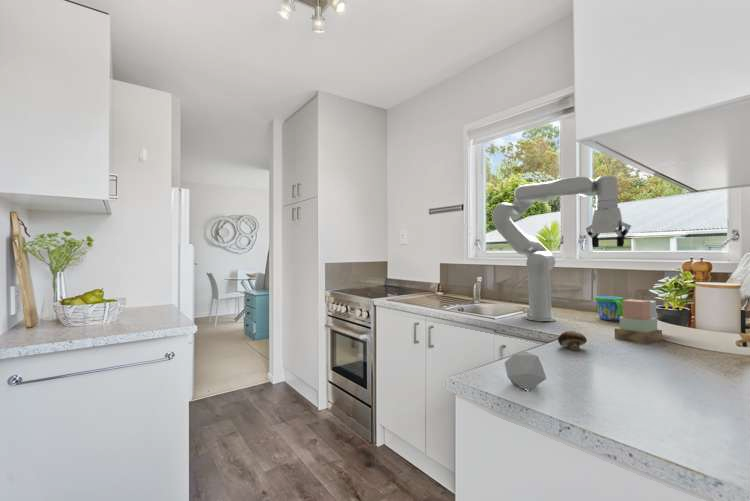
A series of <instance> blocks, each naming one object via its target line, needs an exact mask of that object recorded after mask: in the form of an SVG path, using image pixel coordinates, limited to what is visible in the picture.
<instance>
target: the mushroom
mask: <svg viewBox="0 0 750 501" xmlns="http://www.w3.org/2000/svg"><path fill="white" fill-rule="evenodd" d="M587 340H588V339H587V337H586V336H585V335H584V334H583V333H580V332H577V331H574V330H569V331H568V330H567V331H564V332H562V333H561V334H560V335H559V336H558V338H557V341H558V343H559V345H560V346H561V347H564V348H569V349H570V350H573V351H580V350H581V348H580V346H583V345H585V344H586V343H587Z"/></svg>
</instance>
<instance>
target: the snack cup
mask: <svg viewBox="0 0 750 501" xmlns="http://www.w3.org/2000/svg"><path fill="white" fill-rule="evenodd" d="M594 299H595V301H596V306H595V307H596V309H597V310H598V316H599V319H600V320H604V321H610V322H611V321H612V322H615V321H620V319H619V318H620V317H621V316H623V300H625V299H624V298H623V297H620V296H611V295H610V296H609V295H608V296H607V295H598V296H597V295H596V296H595V297H594Z"/></svg>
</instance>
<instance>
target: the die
mask: <svg viewBox="0 0 750 501" xmlns="http://www.w3.org/2000/svg"><path fill="white" fill-rule="evenodd" d="M504 366H505V370H506V371H505V372H506V375H507V376H506V377H507V378H508V379H509V381H510V382H511V384H512V383H514V384H516V385H518V386H519V387H518V386H517V387H518V388H520V387H521V388H520V389H522V388H523V389H527V390H529V391H531V390H532V389H533V388H535V387H537V386H538V385H540V384H541V383H542V382H544V381H546V380H547V376H546V373H545V371H544V367H543V364H542V362H541V360H540V358H539V355H536V354H533V353H531V352H528V351H526V350H520V351H518V352H515V353H514V354H513V355H512V356H510V357H509V358H508V359H507V360H505V362H504ZM514 384H513V385H514ZM516 385H515V386H516ZM523 389H522V390H523Z"/></svg>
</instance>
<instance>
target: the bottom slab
mask: <svg viewBox="0 0 750 501" xmlns="http://www.w3.org/2000/svg"><path fill="white" fill-rule="evenodd" d="M614 339H616V340H620V341H627V342H633V343H638V344H644V345H650V344H654V343H657V342H658V343H659V342H662V341H663V330H662V329H658V330H655V331H652V332H648V333H644V332H637V331H630V330H624V329H620V326H619V327H615V328H614Z"/></svg>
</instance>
